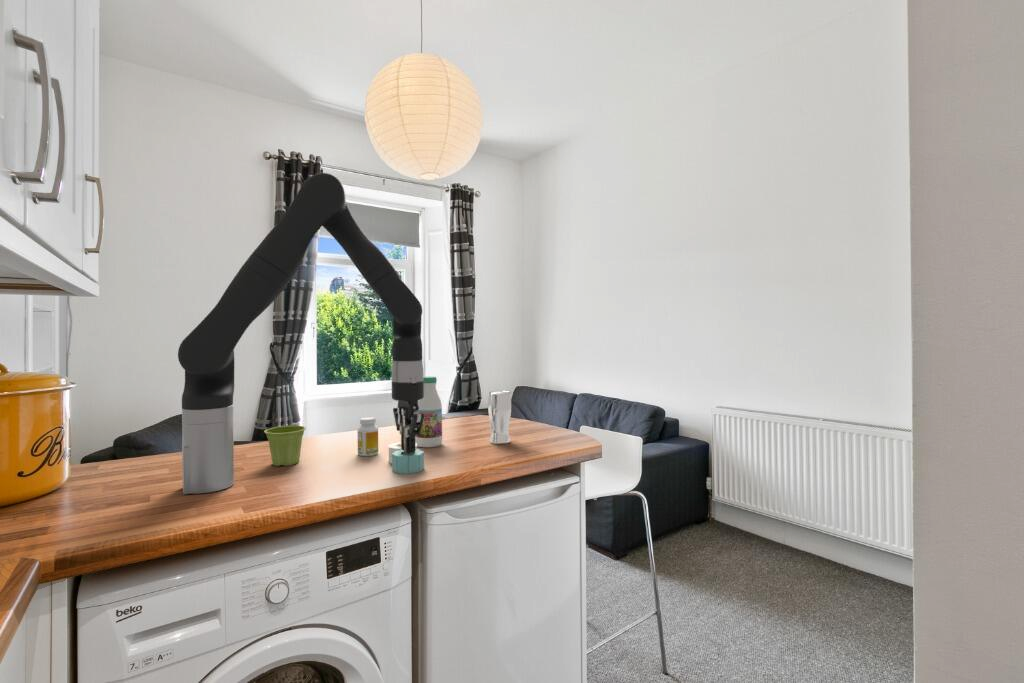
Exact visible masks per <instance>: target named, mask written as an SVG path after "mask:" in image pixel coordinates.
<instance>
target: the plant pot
mask: <svg viewBox="0 0 1024 683" xmlns="http://www.w3.org/2000/svg"><path fill="white" fill-rule="evenodd" d="M305 430H306V426H303V425H282V426H274V427H271V428H267V429H265V430H264V431H263V432H264V434H265V435H266V438H267V439H268V444H269V445H268V446H269V452H270V457H271V462H272V465H273V466H275V467H279V466H286V467H288V466H292V465H296V464H297V463H299V462H300V458H301V449H302V441H303V436H304V433H305Z"/></svg>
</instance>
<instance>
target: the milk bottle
mask: <svg viewBox="0 0 1024 683" xmlns="http://www.w3.org/2000/svg"><path fill="white" fill-rule="evenodd" d="M437 380H438V379H437V377H436V376H431V375H430V376H424V397H423V398H422V399H419V400H418V406H419V413H420V414H422V413H423V414H424V420H423V424H422V428H421V432H420V435H417V436H415V443H417V448H418V447H419V448H436V447H439V446H441V445H442V444H443V406H442V401H441V397H440V396H439V393H438V391H437V390H438V389H437V388H436V387H437V386H436V385H437Z"/></svg>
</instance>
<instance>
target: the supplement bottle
mask: <svg viewBox="0 0 1024 683" xmlns="http://www.w3.org/2000/svg"><path fill="white" fill-rule="evenodd" d="M359 420H360V421H359V424H360V426H358V428H357V455H358V456H360V457H371V456H376V455H378V454H379V427H378V426H377V425H375V424H376V422H377V421H376V417H372V416H371V417H370V416H369V417H368V416H367V417H361V418H360V419H359Z"/></svg>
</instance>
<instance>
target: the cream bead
mask: <svg viewBox="0 0 1024 683" xmlns="http://www.w3.org/2000/svg"><path fill="white" fill-rule="evenodd" d="M415 449H418V446H417V443H416V442H415ZM398 450H402V449H401V441H400V442H399V441H398V442H395V443H394V442H393V443H391V444H390V443H389V444H388V464H391V465H392V453H394V452H395V451H398Z"/></svg>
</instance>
